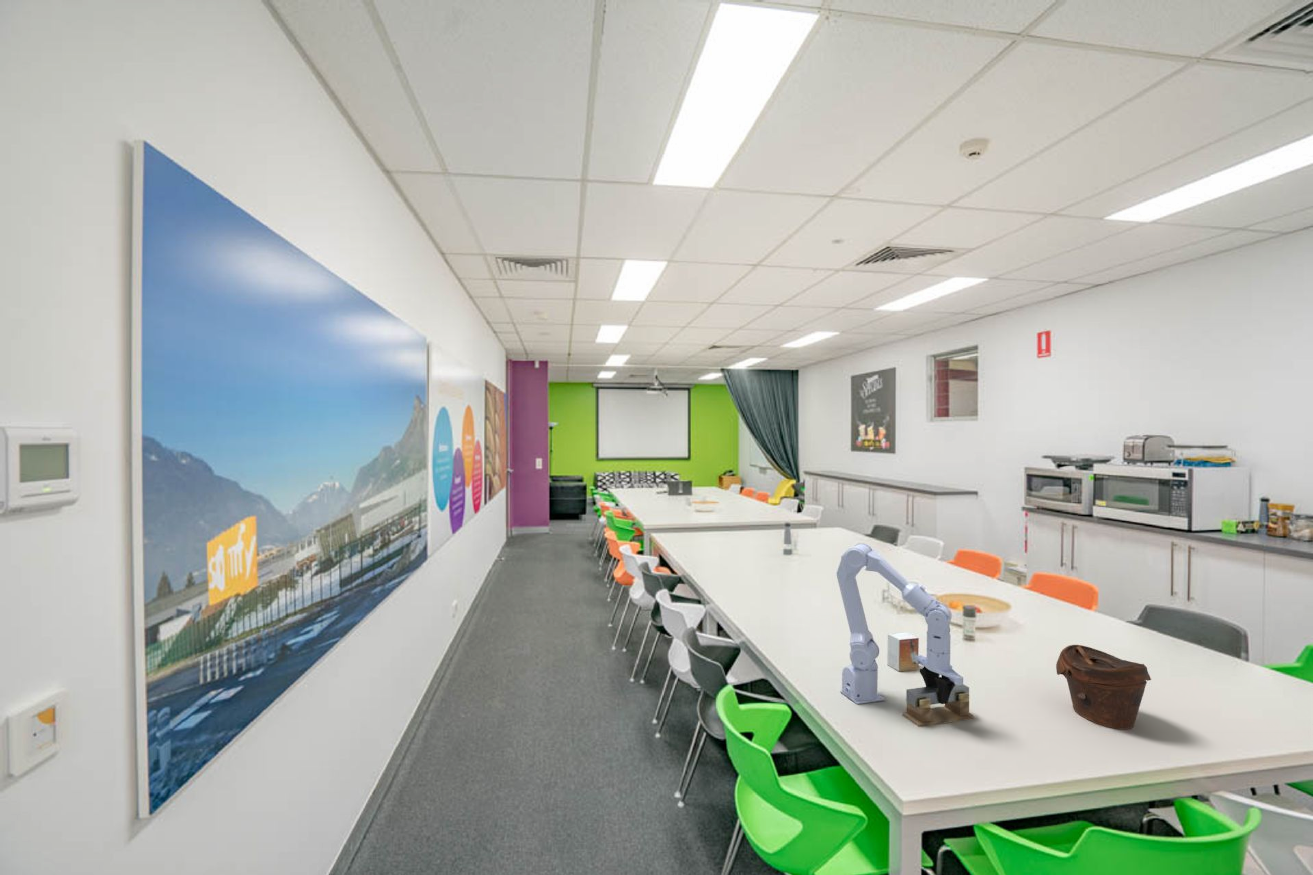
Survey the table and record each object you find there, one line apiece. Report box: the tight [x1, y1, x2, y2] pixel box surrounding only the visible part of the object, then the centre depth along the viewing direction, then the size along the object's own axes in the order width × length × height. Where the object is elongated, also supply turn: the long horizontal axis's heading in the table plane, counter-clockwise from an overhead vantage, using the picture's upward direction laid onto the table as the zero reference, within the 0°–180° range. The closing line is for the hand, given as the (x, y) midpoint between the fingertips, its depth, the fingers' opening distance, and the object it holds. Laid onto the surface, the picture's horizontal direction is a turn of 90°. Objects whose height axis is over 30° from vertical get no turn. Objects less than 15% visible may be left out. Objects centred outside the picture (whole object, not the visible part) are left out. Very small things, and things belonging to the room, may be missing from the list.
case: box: [1055, 644, 1152, 730], centre depth 144 cm, size 18×20×18 cm
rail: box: [905, 683, 970, 707], centre depth 142 cm, size 18×3×3 cm, turn 106°
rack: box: [901, 692, 974, 728], centre depth 142 cm, size 18×6×6 cm, turn 106°
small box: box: [886, 631, 920, 672], centre depth 174 cm, size 8×6×10 cm
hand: (937, 699), depth 142 cm, fingers open, 3 cm apart
